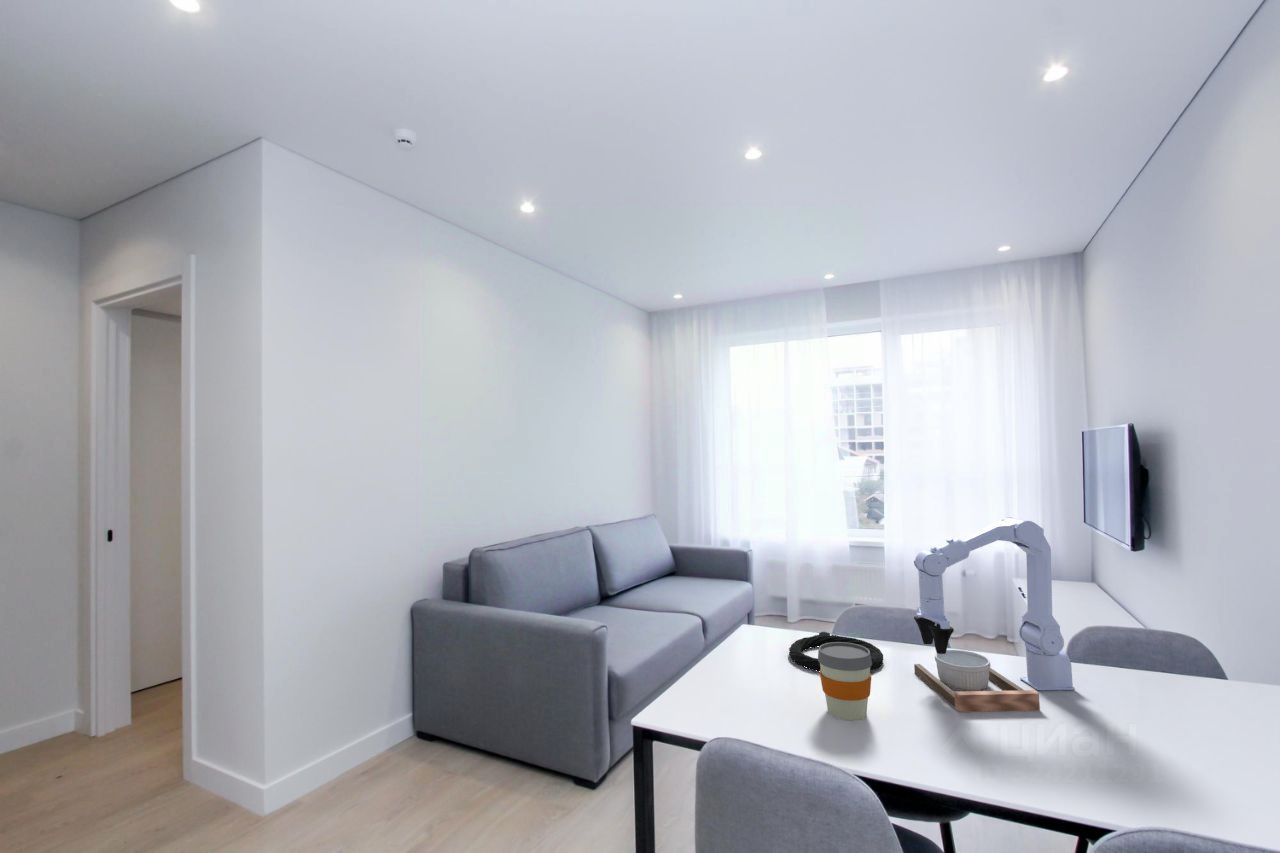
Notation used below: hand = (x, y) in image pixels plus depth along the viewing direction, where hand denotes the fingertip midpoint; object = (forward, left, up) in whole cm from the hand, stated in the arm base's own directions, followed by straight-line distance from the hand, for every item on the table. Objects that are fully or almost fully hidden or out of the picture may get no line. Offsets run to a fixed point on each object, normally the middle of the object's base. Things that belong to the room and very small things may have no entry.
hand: (934, 648), depth 157 cm
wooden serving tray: (-8, +2, -10) cm, 13 cm away
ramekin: (-8, -2, -10) cm, 13 cm away
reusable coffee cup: (+28, +14, -10) cm, 33 cm away
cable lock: (+20, -24, -11) cm, 33 cm away
